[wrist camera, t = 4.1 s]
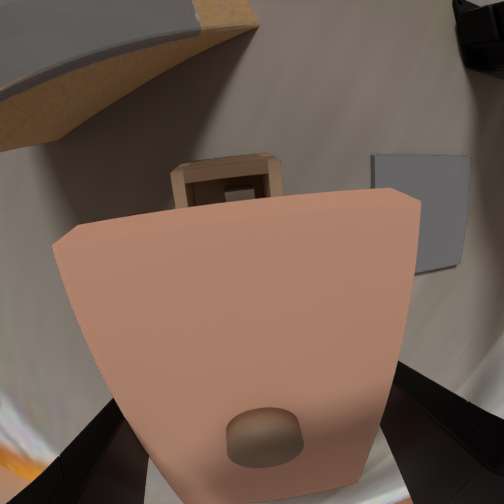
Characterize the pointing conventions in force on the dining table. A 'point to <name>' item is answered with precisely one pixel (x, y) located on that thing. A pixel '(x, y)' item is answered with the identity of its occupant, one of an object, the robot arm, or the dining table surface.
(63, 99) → the sandwich container
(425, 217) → the coaster
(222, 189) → the tea box
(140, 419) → the lid
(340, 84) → the dining table surface
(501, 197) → the dining table surface
